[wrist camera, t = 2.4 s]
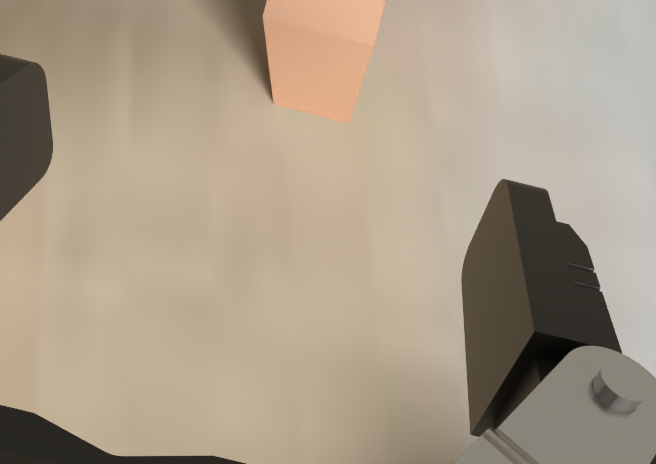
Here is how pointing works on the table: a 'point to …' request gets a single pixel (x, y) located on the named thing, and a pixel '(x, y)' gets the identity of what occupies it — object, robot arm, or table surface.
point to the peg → (320, 52)
